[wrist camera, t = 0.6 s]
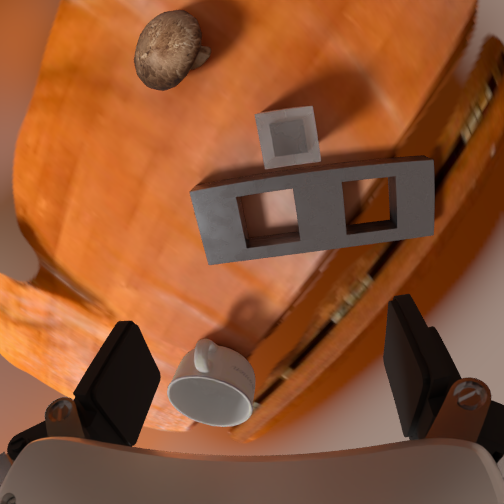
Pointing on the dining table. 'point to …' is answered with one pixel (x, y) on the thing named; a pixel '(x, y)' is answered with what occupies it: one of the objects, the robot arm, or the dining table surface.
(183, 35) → the mushroom
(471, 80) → the dining table surface
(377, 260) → the dining table surface
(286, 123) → the grey rectangular block
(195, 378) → the teacup
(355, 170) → the rail
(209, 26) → the dining table surface
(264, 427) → the dining table surface
